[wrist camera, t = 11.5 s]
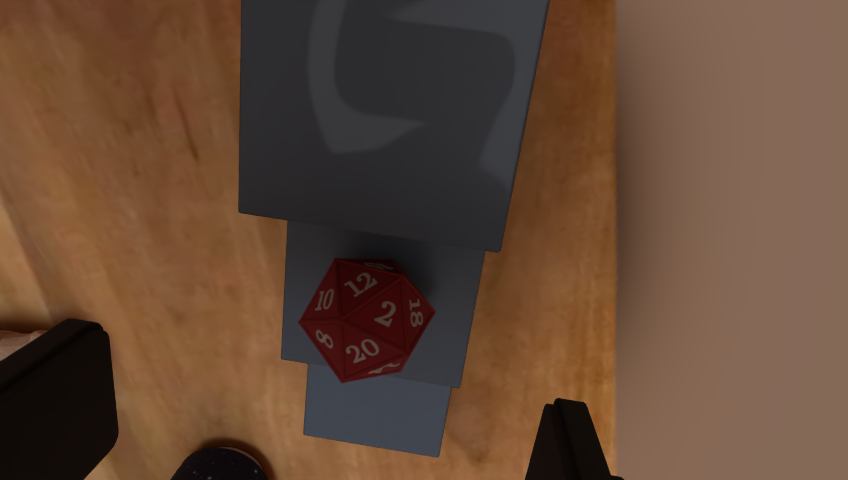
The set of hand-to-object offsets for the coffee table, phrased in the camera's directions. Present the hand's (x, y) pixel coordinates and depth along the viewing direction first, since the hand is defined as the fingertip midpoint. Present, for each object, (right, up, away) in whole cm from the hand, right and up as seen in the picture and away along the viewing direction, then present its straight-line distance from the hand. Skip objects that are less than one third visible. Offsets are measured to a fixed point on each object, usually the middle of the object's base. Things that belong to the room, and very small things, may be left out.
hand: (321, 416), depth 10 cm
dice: (+1, +2, +8) cm, 8 cm away
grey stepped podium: (+1, +4, +14) cm, 15 cm away
